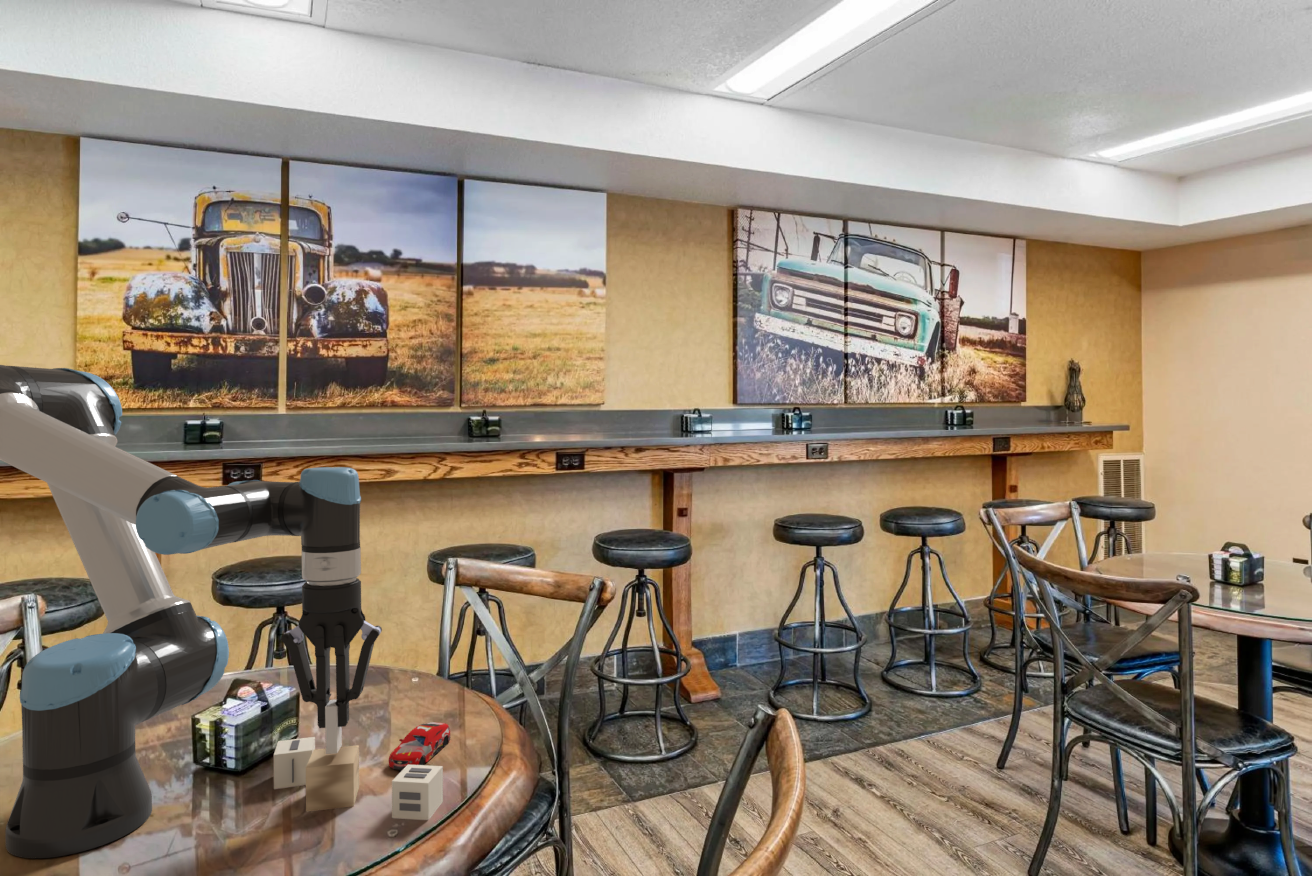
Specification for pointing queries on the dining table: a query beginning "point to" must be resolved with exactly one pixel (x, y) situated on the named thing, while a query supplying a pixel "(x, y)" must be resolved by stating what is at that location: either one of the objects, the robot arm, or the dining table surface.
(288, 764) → the marked block
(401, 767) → the race car
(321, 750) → the plain block
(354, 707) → the dining table surface
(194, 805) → the dining table surface
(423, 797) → the marked block
